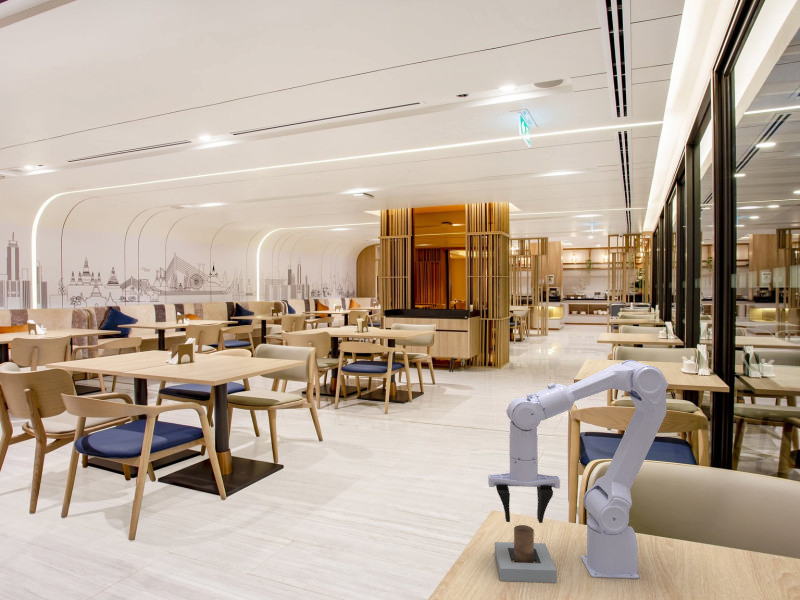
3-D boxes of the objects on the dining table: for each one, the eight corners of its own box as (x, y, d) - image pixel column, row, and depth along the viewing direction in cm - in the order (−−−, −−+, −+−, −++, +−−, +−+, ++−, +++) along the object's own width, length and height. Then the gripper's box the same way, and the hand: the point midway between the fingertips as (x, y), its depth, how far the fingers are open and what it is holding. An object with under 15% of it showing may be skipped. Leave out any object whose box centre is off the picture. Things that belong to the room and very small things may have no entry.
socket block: (545, 554, 114) (545, 543, 114) (556, 582, 103) (556, 570, 103) (494, 553, 114) (494, 541, 114) (500, 580, 103) (500, 568, 103)
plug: (532, 562, 110) (532, 525, 110) (535, 572, 106) (534, 534, 106) (513, 561, 111) (513, 524, 111) (515, 571, 107) (515, 533, 107)
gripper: (554, 450, 112) (554, 513, 112) (486, 449, 113) (487, 511, 113) (562, 461, 104) (562, 528, 105) (490, 460, 106) (490, 526, 106)
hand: (523, 520), depth 108 cm, fingers open, 6 cm apart
